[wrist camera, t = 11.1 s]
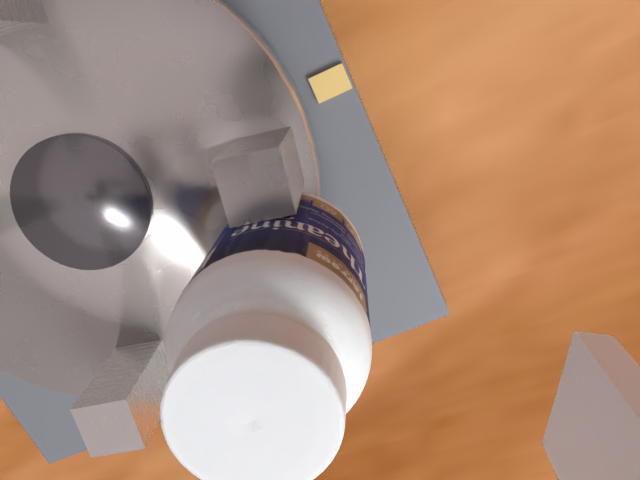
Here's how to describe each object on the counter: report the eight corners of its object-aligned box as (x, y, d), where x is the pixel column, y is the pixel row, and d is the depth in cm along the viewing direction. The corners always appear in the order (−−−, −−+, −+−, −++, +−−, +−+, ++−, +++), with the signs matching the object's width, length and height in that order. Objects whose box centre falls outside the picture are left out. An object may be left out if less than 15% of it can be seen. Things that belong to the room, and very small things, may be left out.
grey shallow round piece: (-176, 16, 21) (-386, 7, 15) (259, -104, 19) (221, -170, 13) (4, 395, 27) (-97, 501, 21) (359, 330, 25) (364, 425, 19)
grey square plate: (221, -234, 19) (213, -251, 18) (446, 304, 26) (451, 316, 25) (-237, 36, 23) (-268, 35, 22) (58, 450, 29) (47, 466, 28)
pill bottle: (385, 215, 21) (419, 357, 11) (335, 339, 22) (329, 549, 13) (243, 165, 20) (158, 271, 11) (203, 295, 22) (101, 480, 13)
